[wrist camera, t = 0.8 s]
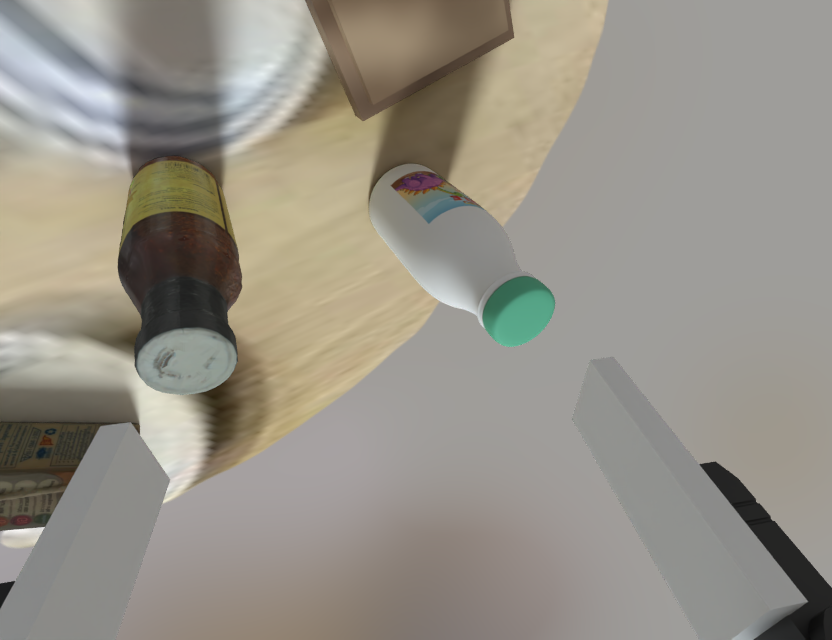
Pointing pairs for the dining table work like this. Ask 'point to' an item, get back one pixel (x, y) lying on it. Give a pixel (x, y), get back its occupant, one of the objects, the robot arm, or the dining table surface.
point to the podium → (404, 43)
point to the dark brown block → (38, 468)
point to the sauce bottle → (180, 275)
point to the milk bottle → (458, 253)
